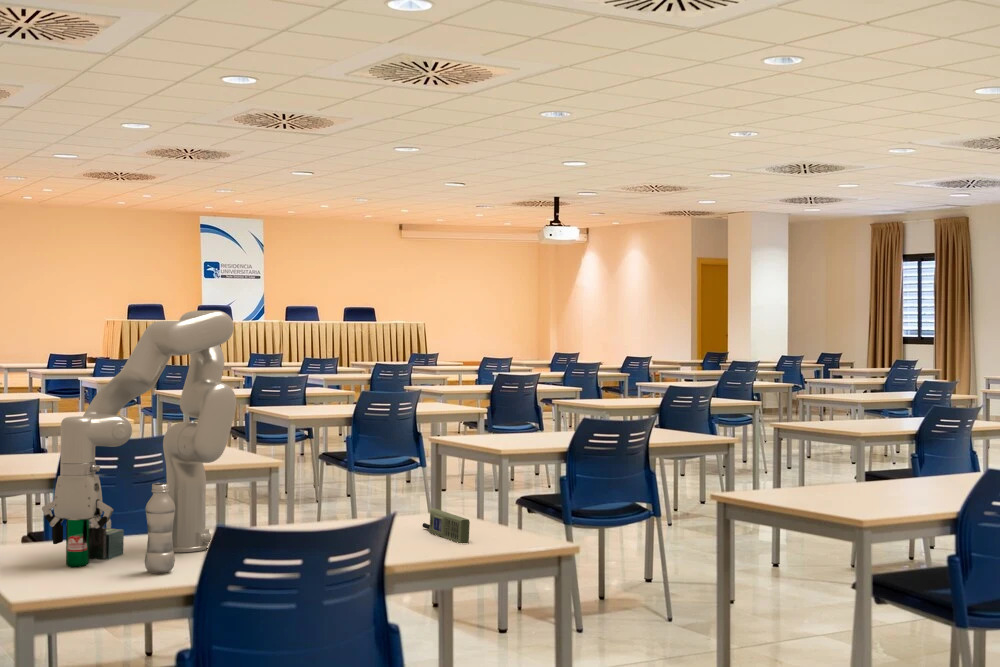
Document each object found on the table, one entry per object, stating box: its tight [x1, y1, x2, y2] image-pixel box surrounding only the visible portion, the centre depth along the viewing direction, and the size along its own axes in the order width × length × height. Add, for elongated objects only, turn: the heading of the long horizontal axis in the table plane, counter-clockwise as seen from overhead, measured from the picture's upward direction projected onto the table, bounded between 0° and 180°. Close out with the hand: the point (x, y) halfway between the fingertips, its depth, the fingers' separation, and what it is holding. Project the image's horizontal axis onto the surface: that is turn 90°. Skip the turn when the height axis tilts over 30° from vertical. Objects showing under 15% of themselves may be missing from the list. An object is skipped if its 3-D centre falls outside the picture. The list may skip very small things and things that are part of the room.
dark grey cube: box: [102, 528, 125, 561], centre depth 269 cm, size 7×7×6 cm
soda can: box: [65, 518, 91, 569], centre depth 258 cm, size 5×5×12 cm
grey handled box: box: [89, 518, 112, 560], centre depth 267 cm, size 10×8×8 cm
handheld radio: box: [421, 507, 471, 544], centre depth 300 cm, size 7×3×25 cm
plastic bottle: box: [144, 482, 176, 574], centre depth 251 cm, size 6×7×20 cm
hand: (77, 543), depth 258 cm, fingers open, 9 cm apart
